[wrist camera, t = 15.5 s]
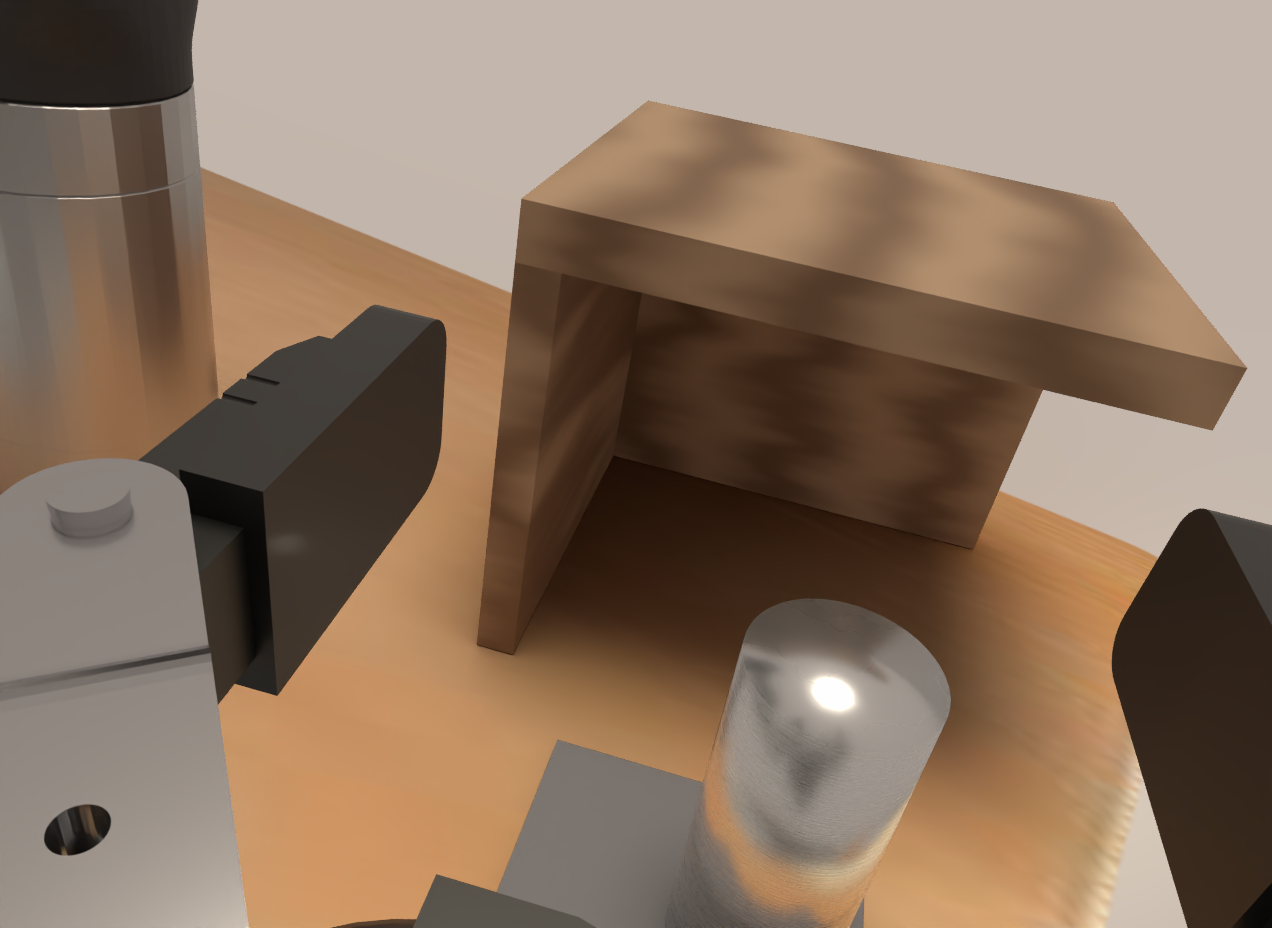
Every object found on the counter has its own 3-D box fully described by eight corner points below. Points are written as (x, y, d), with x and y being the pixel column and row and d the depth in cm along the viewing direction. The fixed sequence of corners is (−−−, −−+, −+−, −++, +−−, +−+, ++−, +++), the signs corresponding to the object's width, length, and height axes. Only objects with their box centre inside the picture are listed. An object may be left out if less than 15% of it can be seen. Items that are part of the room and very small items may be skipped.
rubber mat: (446, 1027, 25) (447, 1015, 25) (555, 751, 34) (557, 739, 34) (851, 1163, 24) (858, 1152, 24) (860, 841, 33) (865, 830, 32)
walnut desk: (477, 644, 38) (521, 198, 28) (593, 435, 53) (648, 100, 44) (1007, 797, 36) (1247, 368, 26) (970, 533, 51) (1113, 202, 41)
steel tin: (650, 988, 27) (730, 716, 21) (681, 840, 31) (754, 579, 25) (826, 1041, 26) (958, 778, 20) (832, 883, 30) (944, 627, 25)
